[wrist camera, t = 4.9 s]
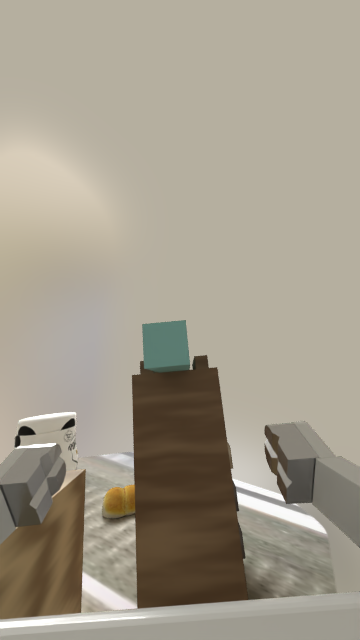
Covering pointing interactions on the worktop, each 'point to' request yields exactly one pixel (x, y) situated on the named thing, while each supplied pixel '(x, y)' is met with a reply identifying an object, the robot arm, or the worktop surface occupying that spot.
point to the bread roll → (119, 502)
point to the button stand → (184, 491)
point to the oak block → (46, 558)
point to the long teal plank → (166, 346)
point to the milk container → (50, 434)
